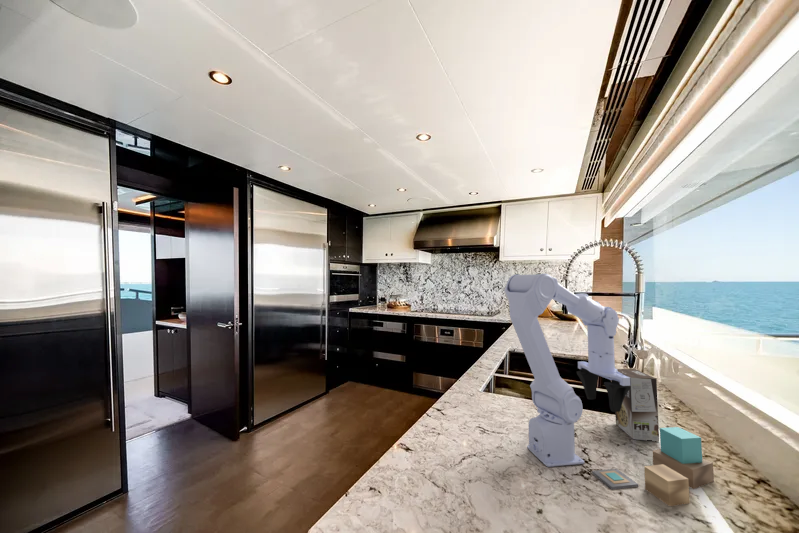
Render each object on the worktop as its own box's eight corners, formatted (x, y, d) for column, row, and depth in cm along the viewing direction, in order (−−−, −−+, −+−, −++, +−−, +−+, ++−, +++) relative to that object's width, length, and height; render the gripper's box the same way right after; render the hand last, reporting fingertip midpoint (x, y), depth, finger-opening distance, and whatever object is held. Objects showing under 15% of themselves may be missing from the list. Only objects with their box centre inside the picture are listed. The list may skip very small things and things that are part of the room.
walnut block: (693, 490, 58) (692, 469, 59) (653, 469, 65) (652, 450, 65) (713, 482, 61) (712, 462, 61) (672, 463, 67) (672, 445, 67)
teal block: (702, 462, 61) (701, 437, 61) (682, 463, 60) (681, 438, 61) (679, 449, 66) (677, 426, 66) (660, 451, 65) (659, 428, 65)
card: (612, 489, 58) (611, 485, 58) (592, 473, 63) (592, 469, 63) (638, 486, 59) (638, 482, 59) (616, 470, 64) (616, 467, 64)
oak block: (669, 506, 54) (668, 481, 54) (645, 489, 58) (644, 466, 58) (689, 503, 55) (688, 478, 55) (664, 487, 59) (663, 464, 59)
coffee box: (660, 442, 75) (658, 378, 76) (632, 439, 77) (630, 377, 78) (639, 425, 84) (637, 368, 85) (614, 423, 86) (612, 367, 87)
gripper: (640, 358, 70) (642, 416, 69) (592, 345, 85) (594, 393, 84) (614, 359, 69) (616, 418, 69) (570, 346, 84) (572, 394, 83)
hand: (602, 404), depth 76 cm, fingers open, 7 cm apart
